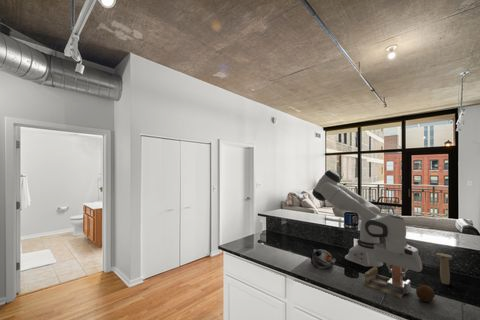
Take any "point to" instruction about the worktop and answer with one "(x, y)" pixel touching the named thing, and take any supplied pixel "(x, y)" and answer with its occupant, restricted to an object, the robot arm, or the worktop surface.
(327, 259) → the lucky cat figurine
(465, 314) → the worktop surface
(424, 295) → the potato
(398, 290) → the frame
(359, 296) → the worktop surface
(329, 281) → the worktop surface
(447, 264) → the handle
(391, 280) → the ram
